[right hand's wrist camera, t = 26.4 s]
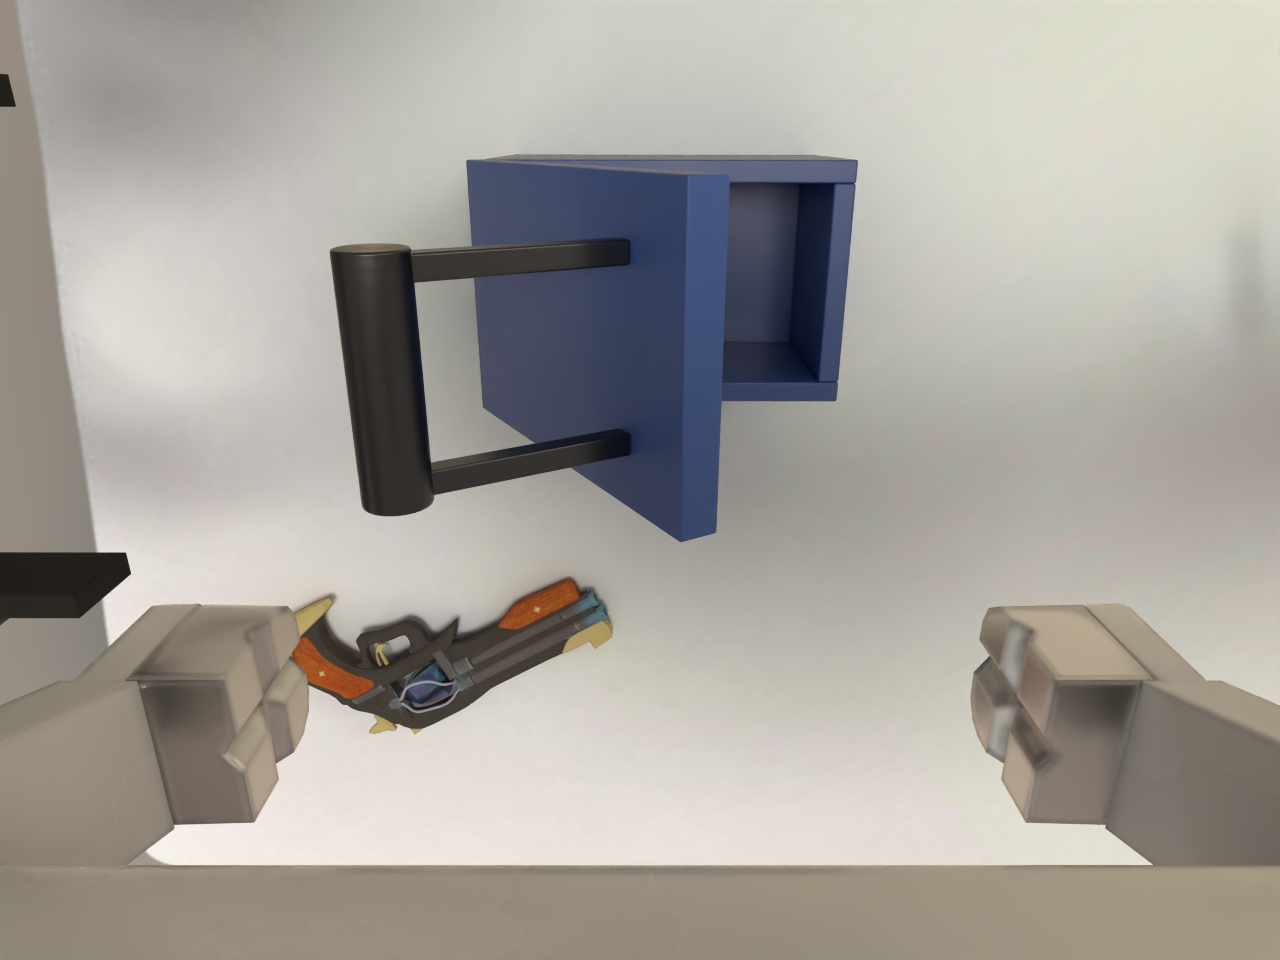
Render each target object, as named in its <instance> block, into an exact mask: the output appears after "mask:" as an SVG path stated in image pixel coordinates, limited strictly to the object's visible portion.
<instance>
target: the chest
mask: <svg viewBox="0 0 1280 960" xmlns="http://www.w3.org/2000/svg"><path fill="white" fill-rule="evenodd" d="M495 159H496V160H513V161H529V162H546V163H562V164H579V165H595V166H612V167H628V168H645V169H661V170H678V171H694V172H711V173H727V174H729V175H730V185H729V211H728V237H727V264H726V290H725V316H724V342H723V368H722V395H721V401H836V399H837V388H838V383H837V381H838V377H839V366H840V354H841V343H842V332H843V321H844V310H845V298H846V287H847V276H848V265H849V254H850V242H851V231H852V220H853V209H854V198H855V184H854V183H856V177H857V166H858V161H857V160H853V159H844V158H835V157H826V156H817V155H510V156H504V157H497V158H491V159H486V160H495Z"/></svg>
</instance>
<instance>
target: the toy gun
mask: <svg viewBox="0 0 1280 960" xmlns="http://www.w3.org/2000/svg"><path fill="white" fill-rule="evenodd" d="M332 604H333V602H332V601H331V600H330V599H329V598H326V599H322V600H320V601H318V602H316V603H313V604H311V605H310V606H308V607H306V608H304V609H302V610H300V611H298V612H297V613H295V615H296V620H297V625H298V629H299V634H300V639H301V640H300V641H299V643H298V644H297V646H296V647H295V649H294V651H293V652H292V654H291V655H290V656H291V657H292V658H293V659H294V660H295V661H296V662H297V663H298V664H299V665H300V666H301V667H302V668H303V670H304V671H305V672H306V675H307V681H308V685H309V686H312V687H314V688H316V689H318V690H321V691H323V692H325V693H328V694H330V695H332V696H333V697H335V698H336V699H337V700H338V701H339V702H340V703H341V704H343V705H348V706H349V707H351V708H353V709H355V710H358V711H362V712H368V713H372V714H374V715H375V718H376V720H377V723H376V724H375V725H374V726H373V727H372V728H371V729H370V730H369V732H370V733H373V734H375V733H380V732H383V731H386V730H390V731H395V730H396V729H397V726H396V725H395V724H400V725H402V726H405V727H408V728H411V730H412V731H413V733H414V734H416V733H418V732H419V731H420V730H422V729H423V728H425V727H428V726H430V725H432V724H434V723H436V722H438V721H440V720H442V719H444V718H446V717H448V716H450V715H452V714H454V713H456V712H458V711H460V710H462V709H464V708H465V707H467V706H469V705H470V704H471V703H473V702H474V701H476V700H477V699H478V698H480V697H481V696H482V695H483V694H485V693H486V692H487V691H488V690H490V689H491V688H493V687H495V686H496V685H498V684H500V683H502V682H504V681H506V680H508V679H510V678H512V677H514V676H516V675H518V674H520V673H522V672H524V671H526V670H529V669H531V668H533V667H535V666H537V665H539V664H541V663H543V662H545V661H547V660H549V659H551V658H553V657H555V656H558V655H560V654H563V653H566V652H568V651H570V650H572V649H574V648H577V647H579V646H581V645H583V644H585V643H587V642H589V641H590V642H591V644H592V645H593V647H594V649H596V648H597V647H599V646H600V645H602V644H603V643H604V642H606V641H607V640H609V639H610V638H611V637H612V635H611V634H612V633H613V628H612V626H611V624H610V622H609V621H608V620H607V619H608V618H609V617H608V613H607V610H606V609H605V607H604V605H603V604H599V601H598V598H597V596H596V594H595V593H594V592H593V591H590V592H587V591H584V592H582V593H580V591H579V590H578V588H577V586H576V585H575V583H574V582H573V581H572V580H571V579H567V580H564V581H562V582H560V583H558V584H555V585H553V586H551V587H549V588H546V589H544V590H542V591H540V592H538V593H536V594H534V595H532V596H530V597H527V598H525V599H523V600H521V601H519V602H517V603H516V604H515V605H514V606H513V607H512V608H511V609H510V611H509V612H508V613H507V614H506V615H505V617H504V618H503V619H502V620H501V622H500V623H499V624H497V625H495V626H493V627H491V628H489V629H487V630H485V631H483V632H481V633H479V634H477V635H475V636H472V637H469V638H465V639H459V640H453V639H454V638H455V636H456V633H457V627H458V619H456V620H455V621H454V622H453V623H452V624H451V625H450V626H449V627H448V628H447V629H446V630H445V631H444V632H442V633H441V634H439V635H438V636H437V637H435V638H432V637H430V636H428V635H427V633H426V631H425V629H424V628H423V627H422V626H421V625H420V624H419V623H417V622H415V621H413V620H405V621H402V622H401V623H399V624H397V625H394V626H392V627H389V628H386V629H383V630H379V631H372V632H366V633H362V634H360V636H359V637H358V638H357V640H356V642H357V645H358V647H359V649H360V652H361V656H362V660H358V659H356V658H354V657H353V656H351V655H349V654H348V653H346V652H345V651H343V650H342V649H341V648H339V647H338V646H337V645H335V644H334V642H333V641H332V640H331V638H330V636H329V634H328V632H327V630H326V627H325V625H324V615H325V612H327V611H328V610H329V608H330V607H331V606H332ZM402 635H405V636H407V638H408V639H409V641H410V645H411V648H410V651H409V652H407V653H405V654H403V655H401V656H399V657H397V658H395V659H393V660H391V661H388V660H387V658H386V656H385V654H384V652H383V648H385V647H386V646H387V645H388V643H380V642H384V641H389V640H392V639H395V638H397V637H399V636H402ZM375 643H378V644H377V646H376V660H377V663H376V662H375V660H374V659H373V657H372V655H371V653H370V648H369V645H371V644H375ZM378 652H379V653H380V655H381V657H382V659H383V661H384V663H381V661H380V658H379V655H378ZM434 658H436V660H437V661H436V662H433V663H431V662H430V661H431V660H433V659H434ZM424 665H427V666H425V667H424V668H423V669H422V670H421V671H420V672H419V673H418V674H417V675H416V676H415V677H414V678H413V679H412V680H411V681H410V682H409V679H410V677H411V676H412V675H413V674H414V672H415V671H416V670H417V669H419V668H420V667H422V666H424ZM409 673H410V675H409V676H408V678H407V680H406V683H405V688H402V687H401V686H400V684H399V683H398V681H397V680H398V679H400V678H402V677H404V676H406V675H407V674H409ZM408 682H409V683H408ZM455 683H457V686H458V689H457V690H456V692H455V693H454V694H453V695H451V696H449V697H447V698H445V699H443V700H441V701H439V702H437V703H435V704H432V705H429V706H425V707H414V705H413V704H412V702H416V703H419V704H423V703H427V702H431V701H434V700H437V699H439V698H442V697H444V696H447V695H449V693H450V691H451V688H452V686H453V684H455ZM411 701H412V702H411Z"/></svg>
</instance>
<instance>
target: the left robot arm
mask: <svg viewBox="0 0 1280 960" xmlns="http://www.w3.org/2000/svg"><path fill="white" fill-rule="evenodd" d="M15 106H16V105H15V101H14V97H13V93H12V89H11V85H10V81H9V76H8V75H6V74H0V107H15ZM130 574H131V571H130V567H129V563H128V559H127V555H126V553H12V552H10V553H8V552H7V553H2V552H1V553H0V625H1V624H2V623H4V622H5V621H6V620H8V619H9V618H80V617H81V616H83V615H84V614H85V613H86V612H87V611H88V610H90V609H91V608H92V607H93V606H94V605H95V604H96V603H98V602H99V601H100V600H101V599H102V598H104V597H105V596H106V595H107V594H108V593H109V592H111V591H112V590H113V589H114V588H115V587H116V586H118V585H119V584H120V583H121V582H122V581H123V580H125V579H126V578H127V577H128V576H129V575H130Z"/></svg>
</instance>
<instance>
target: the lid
mask: <svg viewBox="0 0 1280 960" xmlns="http://www.w3.org/2000/svg"><path fill="white" fill-rule="evenodd" d="M466 163H467V178H468V193H469V207H470V222H471V237H472V246H471V247H455V248H439V249H423V250H411V249H410V247H408V246H406V245H400V244H356V245H346V246H339V247H335V248H333V249H331V250H330V258H331V266H332V274H333V282H334V290H335V298H336V305H337V313H338V321H339V329H340V337H341V345H342V353H343V361H344V368H345V376H346V384H347V392H348V400H349V408H350V416H351V423H352V431H353V439H354V447H355V455H356V463H357V471H358V478H359V486H360V494H361V502H362V507H363V508H364V510H365V511H367V512H368V513H371V514H374V515H379V516H401V515H407V514H412V513H416V512H419V511H421V510H423V509H425V508H427V507H429V506H430V505H431V504H432V503H433V500H434V495H436V494H441V493H446V492H451V491H456V490H461V489H466V488H471V487H476V486H481V485H486V484H491V483H496V482H501V481H505V480H510V479H515V478H520V477H525V476H530V475H535V474H540V473H545V472H550V471H555V470H560V469H565V468H570V467H571V468H572V469H574V470H575V471H577V472H578V473H580V474H581V475H583V476H584V477H586V478H587V479H589V480H590V481H591V482H593V483H594V484H596V485H597V486H599V487H600V488H602V489H603V490H605V491H606V492H608V493H609V494H611V495H612V496H613V497H615V498H616V499H618V500H619V501H621V502H622V503H624V504H625V505H627V506H628V507H630V508H631V509H633V510H634V511H635V512H637V513H638V514H640V515H641V516H643V517H644V518H646V519H647V520H649V521H650V522H652V523H653V524H655V525H656V526H657V527H659V528H660V529H662V530H663V531H665V532H666V533H668V534H669V535H671V536H672V537H674V538H675V539H676V540H678V541H679V542H683V541H687V540H691V539H695V538H698V537H702V536H706V535H710V534H713V533H716V526H717V499H718V473H719V447H720V421H721V395H722V368H723V342H724V316H725V290H726V264H727V237H728V211H729V185H730V175H729V174H727V173H711V172H694V171H678V170H661V169H645V168H628V167H612V166H595V165H579V164H562V163H546V162H529V161H513V160H496V159H495V160H467V161H466ZM465 278H474V281H475V296H476V311H477V326H478V340H479V355H480V370H481V385H482V399H483V408H484V409H486V410H487V411H489V412H490V413H492V414H493V415H495V416H496V417H498V418H499V419H501V420H502V421H503V422H505V423H506V424H508V425H509V426H511V427H512V428H514V429H515V430H517V431H518V432H520V433H521V434H523V435H524V436H525V437H527V438H528V439H530V440H531V441H533V442H534V443H536V444H530V445H525V446H519V447H514V448H508V449H503V450H498V451H492V452H487V453H481V454H476V455H470V456H465V457H459V458H454V459H448V460H443V461H438V462H432V463H431V458H430V447H429V436H428V425H427V415H426V404H425V393H424V383H423V372H422V361H421V350H420V340H419V329H418V318H417V307H416V297H415V286H414V283H416V282H428V281H441V280H453V279H465Z"/></svg>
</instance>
